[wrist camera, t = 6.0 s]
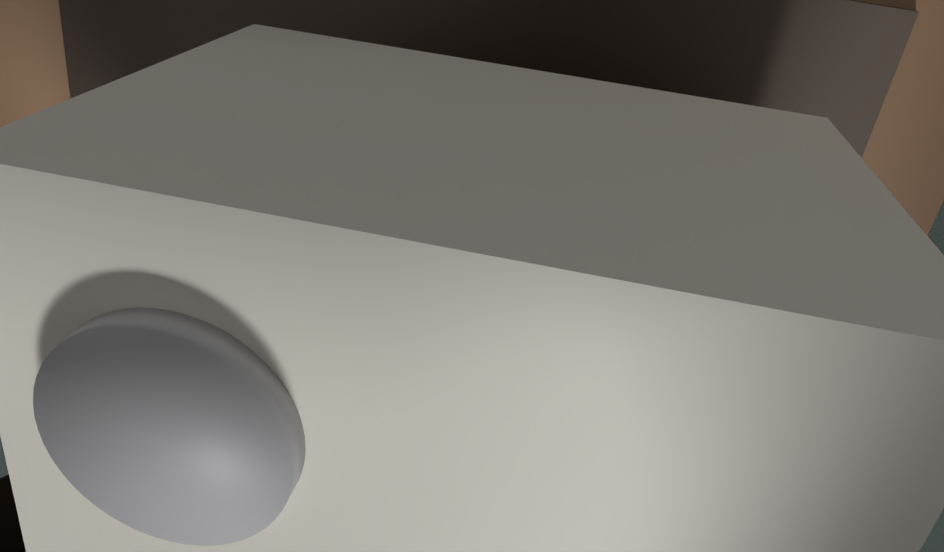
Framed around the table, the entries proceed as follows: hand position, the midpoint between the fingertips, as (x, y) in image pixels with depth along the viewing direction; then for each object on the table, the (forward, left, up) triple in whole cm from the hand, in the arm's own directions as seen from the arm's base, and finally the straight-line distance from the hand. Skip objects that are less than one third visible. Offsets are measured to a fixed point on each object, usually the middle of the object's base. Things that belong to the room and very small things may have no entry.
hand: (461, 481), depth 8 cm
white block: (0, 0, -1) cm, 1 cm away
